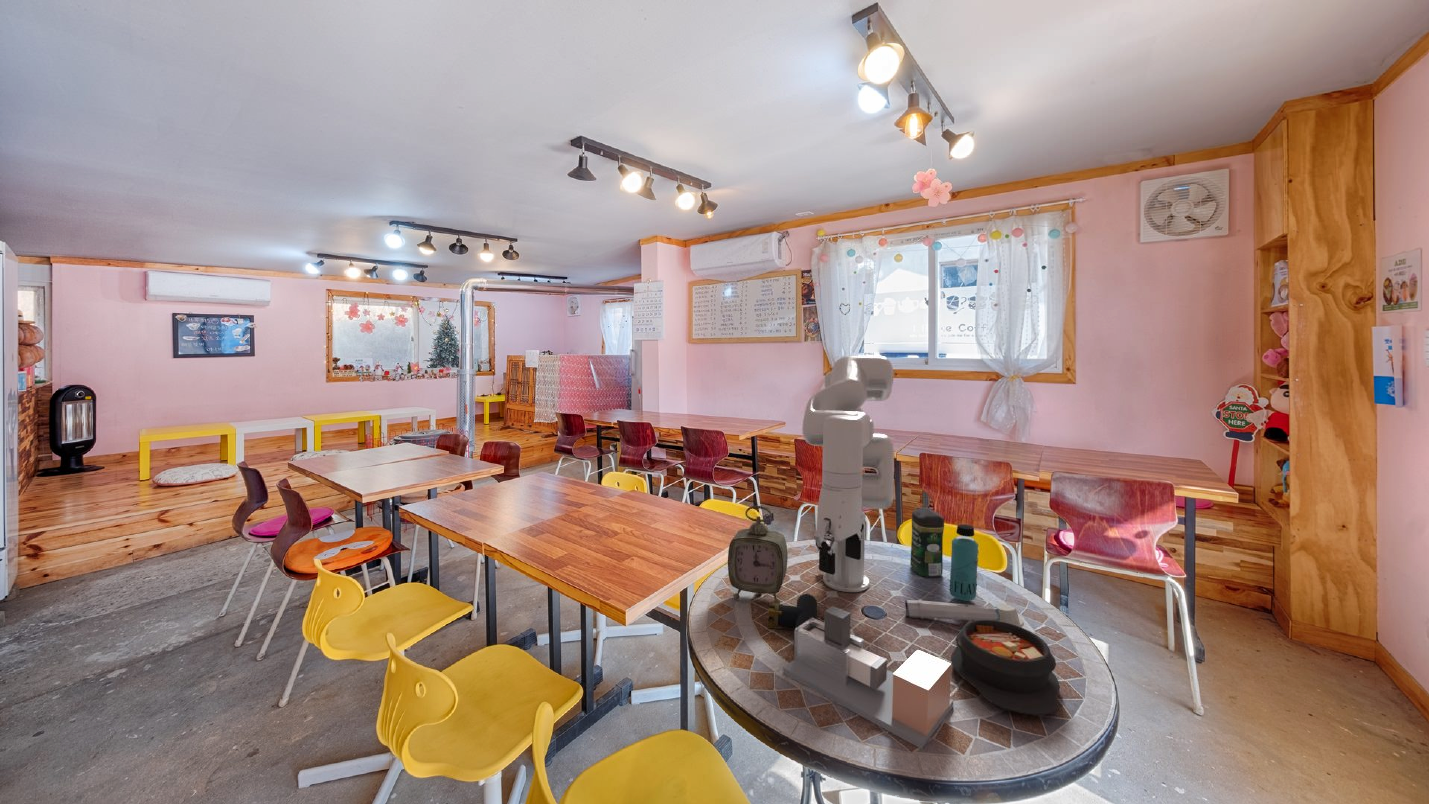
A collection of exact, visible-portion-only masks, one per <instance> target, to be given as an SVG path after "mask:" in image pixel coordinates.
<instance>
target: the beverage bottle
mask: <svg viewBox="0 0 1429 804" xmlns="http://www.w3.org/2000/svg"><path fill="white" fill-rule="evenodd" d="M956 534H957V535H958V536H956V537H955V538H953V539H952V540H951V552H950V553H951V556H950V557H951V558H950V562H951V563H950V572H949V575H950V576H949V585H948V586H949V594H950V595H951V597H953V598H955V599H957V600H960V601H967V602H968V601H969V602H971V601H973V600H975V599H976V597H977V591H978V569H979V568H978V567H979V557H978V556H979V554H978V553H979V552H978V551H979V544H978V542H977V541H976V540H975V539H974V538H972V537H974V536H975V528H974V526H973V525H970V524H966V523H965V524H964V523H963V524H961V523H960V524H958V525H957V526H956Z"/></svg>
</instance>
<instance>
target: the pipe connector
mask: <svg viewBox="0 0 1429 804" xmlns="http://www.w3.org/2000/svg"><path fill="white" fill-rule="evenodd" d="M818 614H819V613H818V601H817V599H816V597H815V596H813V595H812V594H809V593H803V594H801V595H800V596H799V597H798V598H797V600H796V606H795V605H785V604H784V603H780V604H778V603H774V602H769V603H768V609H767V617H768V618H767V628H770V629H773V628H774V629H779V630H780V629H781V630H782V629H787V630H788V629H791V630H795V628H797V627H799V626H800V625H802V624H803V623H805V622H806V621H808V620H809V619H811V618H815V619H817V620H819V619H818V616H819V615H818Z"/></svg>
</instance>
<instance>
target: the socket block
mask: <svg viewBox="0 0 1429 804" xmlns="http://www.w3.org/2000/svg"><path fill="white" fill-rule="evenodd" d="M951 670H952V662H948V661H946V660H944V659H942V658H939V657H936V656H934V655H931V654H929V653H926V652H924V651H922V650H919V649H917V650H916V651H914V653H913V654H912V655H911V656H910V657H909V658H907V660H906V661H904V662H903V664H901V665H900V666H899V668H898V669H896V670H895V671H894V672H893V673H894V674H893V699H892V718H894V719H896V720H898V721H900V722H902V723H904V724H906V725H907V726H909V727H911V728H913V729H915V730H917V731H919V732H921V733H923V734H925V735H926V736H927V735H928V733H929V732H930V731H931V729H932V728H933V727H934V725H935V724H936V723H937V721H938V720H939V719H940V717H941V716H942V715H943V713H944V712H945V711H946V710H947V708H948V707H949V703H950V699H951V697H950V696H951V677H952V675H951V674H952V671H951Z"/></svg>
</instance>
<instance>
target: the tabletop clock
mask: <svg viewBox="0 0 1429 804" xmlns="http://www.w3.org/2000/svg"><path fill="white" fill-rule="evenodd" d="M753 509H757V510H758V509H760V510H763V511H767V512H768V514H769V517H768V518H764V519H762V517H761V516H759V515H757V516H756V518H754V517H751V516H749V514H748V512H749V511H750V510H753ZM744 514H745V517H746V518H747V519H748V520H750V521H752V522H753V523H751V524H750V526H749V528H742V529H739V530H738V531H737V532H736V533H735V535H734V537H732V539H731V541H730V543H729V547H728V552H727V553H728V554H727V571H728V579H729V582H730V584H731V586H732V587H733V588H735V589H736V590H737V592H735V593H734V594H733V599H734V600H737V601H738V600H739V599H740V597H741V596H740V593H741V591H744V592H748V593H753V594H758V595H759V594H761V595H762V594H765V595H766V594H767V595H768V594H769V595H772V596H773V599H774V600H773V603H778V604H781V601H780V599H779V598H777V594H778V593H779V592H780V590H781V588H782V586H783V584H784V581H785V577H786V574H787V569H788V561H789V560H788V559H789V558H788V545H787V541H786V537H785V535H784V534H783V533H781V532H778V531H775V530H770V529H769V527H768V526H767V525H766V524H765V522H768V521H771V519H772V516H773V515H772V512H771V510H770V509H769V508H767V507H765V506H762V505H752V506H749V507H748V508H746V510H745V513H744Z"/></svg>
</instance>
